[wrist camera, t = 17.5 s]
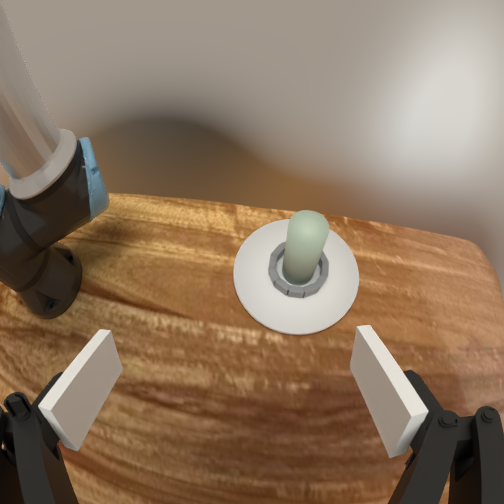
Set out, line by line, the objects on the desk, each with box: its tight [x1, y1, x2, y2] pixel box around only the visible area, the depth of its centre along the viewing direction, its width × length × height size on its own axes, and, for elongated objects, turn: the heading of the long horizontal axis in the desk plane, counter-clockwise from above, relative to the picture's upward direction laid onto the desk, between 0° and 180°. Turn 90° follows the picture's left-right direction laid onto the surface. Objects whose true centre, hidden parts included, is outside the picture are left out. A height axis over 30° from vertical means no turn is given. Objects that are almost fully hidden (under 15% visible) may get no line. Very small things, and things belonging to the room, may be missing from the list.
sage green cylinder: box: [282, 210, 329, 286], centre depth 39 cm, size 5×5×12 cm
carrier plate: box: [234, 219, 359, 335], centre depth 43 cm, size 20×20×3 cm
